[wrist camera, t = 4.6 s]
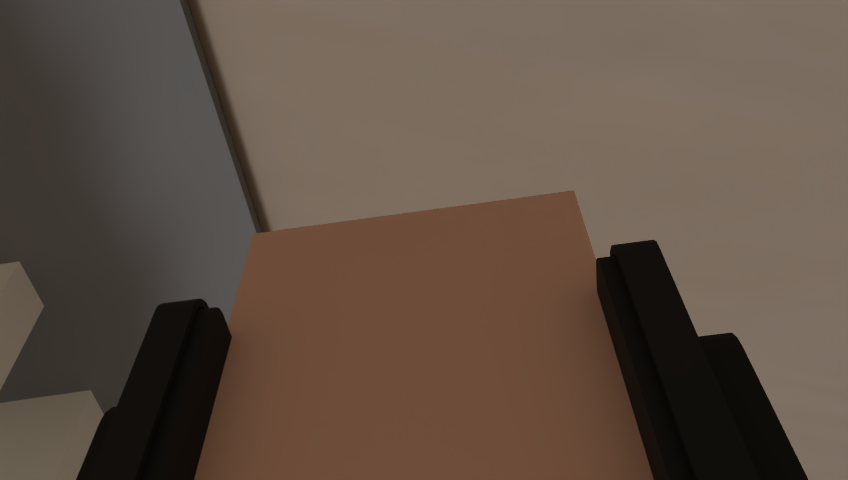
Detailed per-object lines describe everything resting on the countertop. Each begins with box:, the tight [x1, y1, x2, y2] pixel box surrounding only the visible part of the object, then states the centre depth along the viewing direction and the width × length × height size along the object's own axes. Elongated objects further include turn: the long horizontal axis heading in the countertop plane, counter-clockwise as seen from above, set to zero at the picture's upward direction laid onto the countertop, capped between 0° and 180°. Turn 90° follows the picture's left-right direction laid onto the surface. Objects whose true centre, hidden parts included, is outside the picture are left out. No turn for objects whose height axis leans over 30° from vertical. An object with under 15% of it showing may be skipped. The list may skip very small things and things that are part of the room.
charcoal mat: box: [0, 0, 262, 414], centre depth 27 cm, size 17×33×1 cm, turn 9°
